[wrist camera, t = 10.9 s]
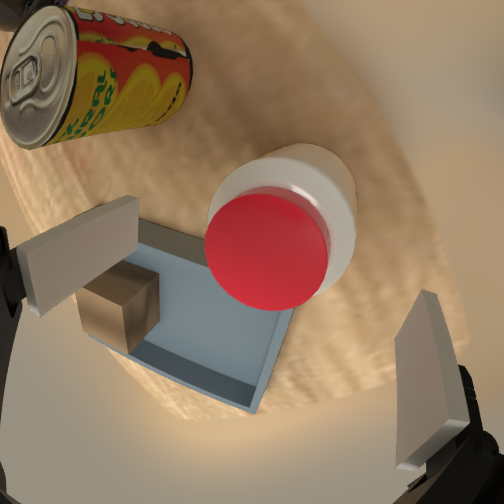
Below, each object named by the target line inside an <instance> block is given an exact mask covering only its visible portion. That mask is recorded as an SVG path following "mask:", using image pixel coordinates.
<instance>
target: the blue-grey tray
mask: <svg viewBox="0 0 504 504" xmlns="http://www.w3.org/2000/svg"><path fill="white" fill-rule="evenodd" d="M97 207H100V206H99V205H98V206H96V207H94V208H92V209H90V210H93V209H95V208H97ZM90 210H87V211H85V212H83V213H81V214H84V213H86V212H88V211H90ZM81 214H79V215H81ZM79 215H77V216H79ZM77 216H75V217H77ZM75 217H73V218H75ZM122 260H125V261H127V262H130V263H132V264H135V265H138V266H140V267H143V268H146V269H148V270H151V271H154V272H156V273H159V297H160V321H159V322H158V323H157V324H156V326H155V327H154V328H153V329H152V330H151V331H150V332H149V333H148V334H147V335H146V336H145V338H144V339H143V340H142V341H141V342H140V343H139V344H138V345H137V346H136V347H135V348H134V350H133V351H132V352H131V353H130V354H129V355H127V354H125V353H123V352H121V351H119V350H117V349H115V348H114V347H112V346H110V345H108V344H106V343H104V342H103V341H101V340H99V339H97V338H95V337H94V336H92V335H90V334H89V336H90V337H91V338H93V339H95V340H97V341H98V342H100V343H102V344H103V345H105V346H107V347H109V348H110V349H112V350H114V351H116V352H118V353H119V354H121V355H123V356H125V357H127V358H129V359H130V360H132V361H134V362H136V363H138V364H140V365H142V366H144V367H146V368H148V369H150V370H152V371H154V372H156V373H158V374H160V375H162V376H164V377H166V378H168V379H170V380H173V381H175V382H177V383H179V384H181V385H183V386H186V387H188V388H190V389H192V390H195V391H197V392H199V393H202V394H204V395H206V396H209V397H211V398H214V399H216V400H219V401H221V402H224V403H226V404H229V405H231V406H234V407H236V408H239V409H242V410H244V411H247V412H250V413H253V414H256V411H257V409H258V407H259V404H260V402H261V399H262V397H263V394H264V392H265V389H266V387H267V384H268V381H269V379H270V376H271V373H272V371H273V368H274V365H275V363H276V360H277V357H278V354H279V352H280V349H281V346H282V343H283V340H284V337H285V335H286V332H287V329H288V326H289V323H290V320H291V317H292V314H293V311H294V308H295V307H294V308H291V309H287V310H282V311H267V310H260V309H256V308H253V307H250V306H247V305H245V304H243V303H241V302H239V301H237V300H236V299H235V298H233V297H232V296H230V295H229V294H228V293H227V292H226V291H225V290H224V289H223V288H222V287H221V286H220V285H219V283H218V282H217V281H216V279H215V278H214V276H213V274H212V272H211V270H210V268H209V266H208V263H207V259H206V255H205V240H203V239H199V238H196V237H193V236H190V235H187V234H184V233H181V232H178V231H175V230H172V229H169V228H166V227H163V226H160V225H157V224H154V223H151V222H148V221H145V220H142V219H139V218H138V249H137V250H136V251H134V252H133V253H131V254H130V255H128V256H127V257H125V258H124V259H122Z"/></svg>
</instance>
